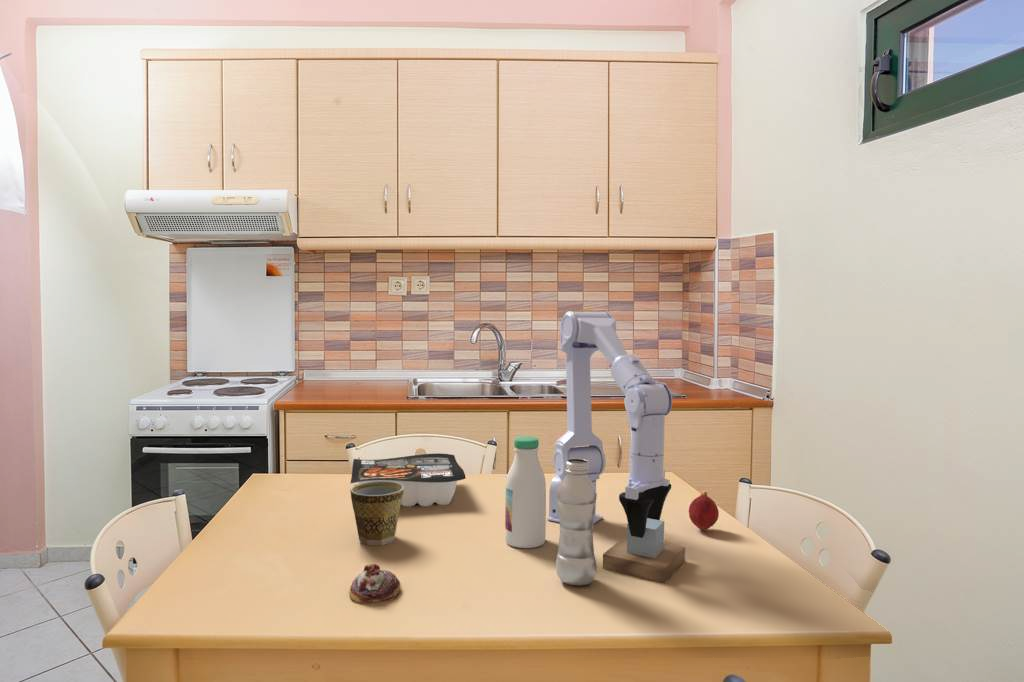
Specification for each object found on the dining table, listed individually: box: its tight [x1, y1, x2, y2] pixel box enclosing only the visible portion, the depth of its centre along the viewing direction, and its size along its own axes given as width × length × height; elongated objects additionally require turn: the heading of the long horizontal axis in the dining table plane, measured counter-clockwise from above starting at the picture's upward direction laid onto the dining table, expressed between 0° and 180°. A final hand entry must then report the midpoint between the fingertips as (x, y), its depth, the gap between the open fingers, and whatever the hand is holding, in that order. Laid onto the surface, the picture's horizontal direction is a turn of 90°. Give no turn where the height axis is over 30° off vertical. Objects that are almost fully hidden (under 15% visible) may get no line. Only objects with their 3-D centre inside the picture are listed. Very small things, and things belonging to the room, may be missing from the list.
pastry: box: [348, 563, 402, 604], centre depth 101 cm, size 8×8×5 cm
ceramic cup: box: [349, 481, 404, 546], centre depth 125 cm, size 13×10×10 cm
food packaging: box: [350, 452, 467, 507], centre depth 153 cm, size 25×8×23 cm
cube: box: [626, 518, 665, 558], centre depth 113 cm, size 5×5×5 cm
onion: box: [688, 490, 720, 532], centre depth 131 cm, size 6×6×8 cm
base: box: [602, 534, 686, 584], centre depth 113 cm, size 11×11×2 cm
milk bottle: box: [504, 436, 547, 549], centre depth 123 cm, size 8×8×20 cm
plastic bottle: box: [555, 459, 598, 586], centre depth 105 cm, size 6×7×20 cm
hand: (645, 529), depth 113 cm, fingers open, 7 cm apart
